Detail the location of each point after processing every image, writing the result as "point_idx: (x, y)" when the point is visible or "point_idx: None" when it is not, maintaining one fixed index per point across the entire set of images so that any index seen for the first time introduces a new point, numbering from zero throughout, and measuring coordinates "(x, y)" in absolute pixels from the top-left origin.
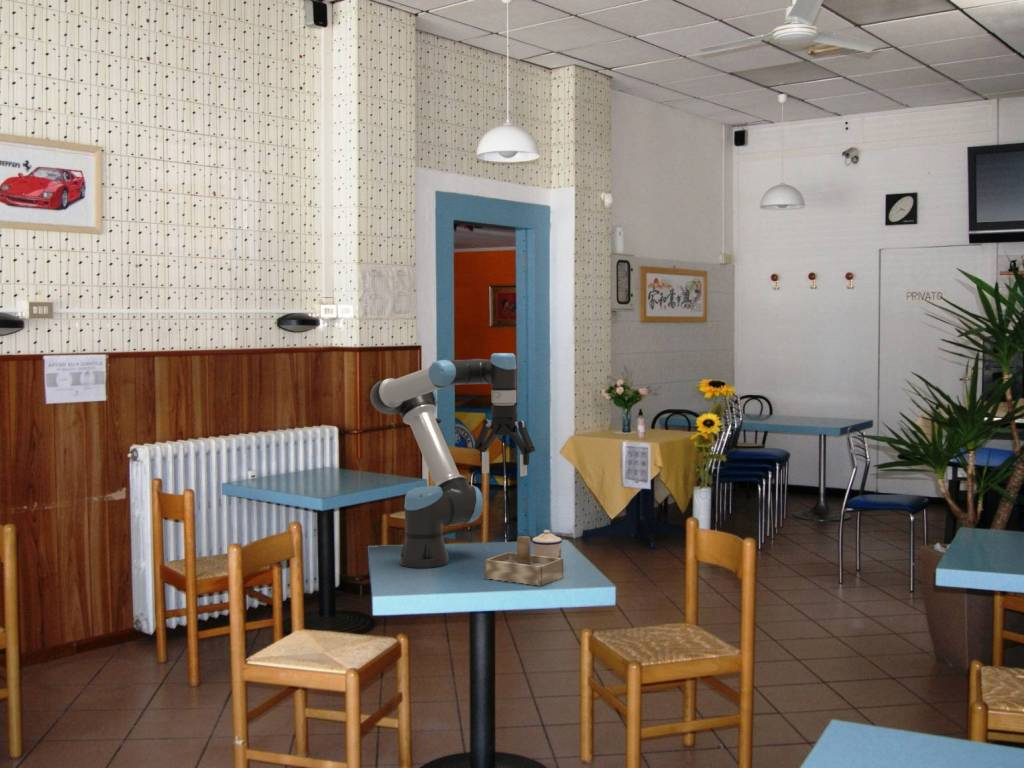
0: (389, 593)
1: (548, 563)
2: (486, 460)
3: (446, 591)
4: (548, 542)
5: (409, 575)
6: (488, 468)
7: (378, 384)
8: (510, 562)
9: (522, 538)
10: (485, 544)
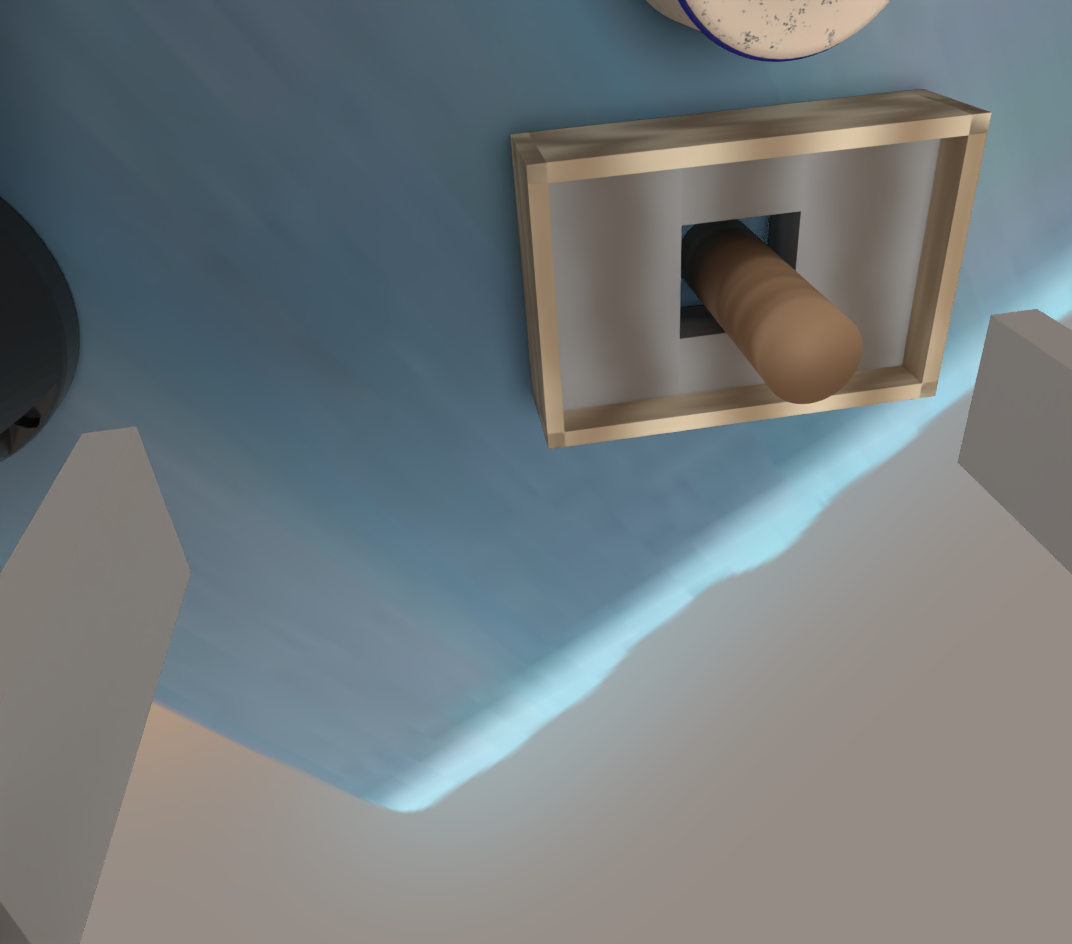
0: (375, 776)
1: (944, 295)
2: (93, 695)
3: (542, 645)
4: (867, 22)
5: None
6: (120, 494)
7: None
8: (606, 242)
9: (825, 396)
10: None
